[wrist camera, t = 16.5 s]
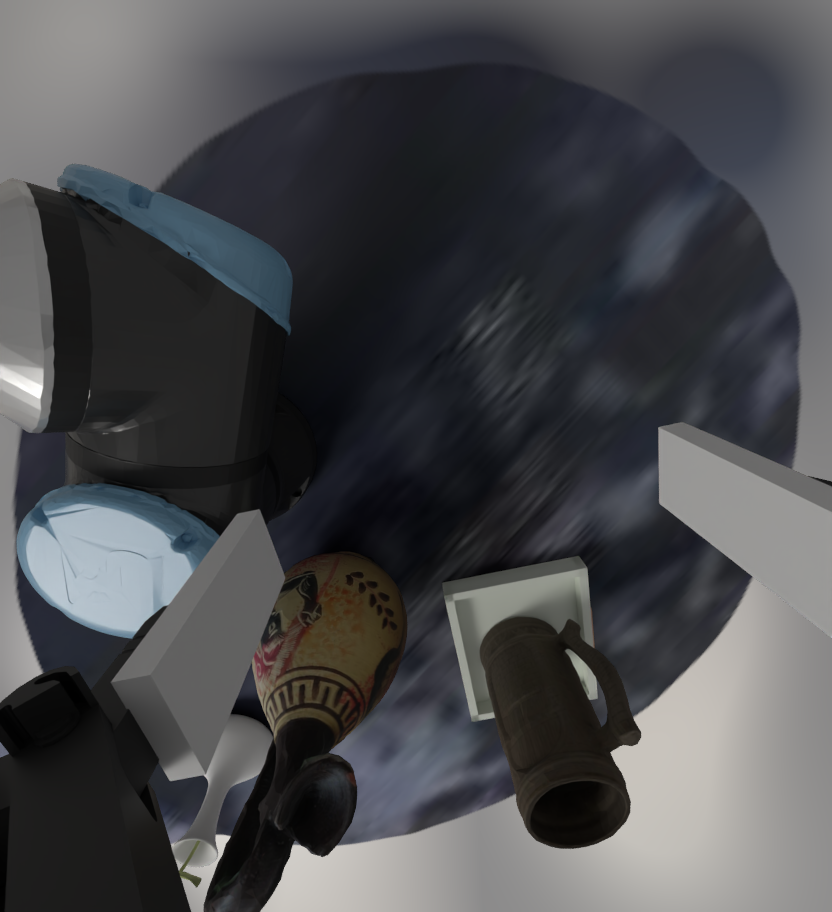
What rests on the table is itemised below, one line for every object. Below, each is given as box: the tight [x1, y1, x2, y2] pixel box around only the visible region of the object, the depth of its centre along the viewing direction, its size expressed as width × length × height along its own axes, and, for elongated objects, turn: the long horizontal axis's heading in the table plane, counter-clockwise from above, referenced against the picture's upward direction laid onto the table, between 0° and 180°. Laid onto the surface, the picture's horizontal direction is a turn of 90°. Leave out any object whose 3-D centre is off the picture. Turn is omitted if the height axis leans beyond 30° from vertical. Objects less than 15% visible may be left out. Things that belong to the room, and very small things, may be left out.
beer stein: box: [480, 617, 641, 849], centre depth 47 cm, size 15×11×20 cm
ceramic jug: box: [204, 551, 407, 912], centre depth 39 cm, size 17×15×30 cm
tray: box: [442, 556, 598, 722], centre depth 55 cm, size 17×21×2 cm
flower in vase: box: [172, 714, 273, 887], centre depth 49 cm, size 13×11×25 cm
